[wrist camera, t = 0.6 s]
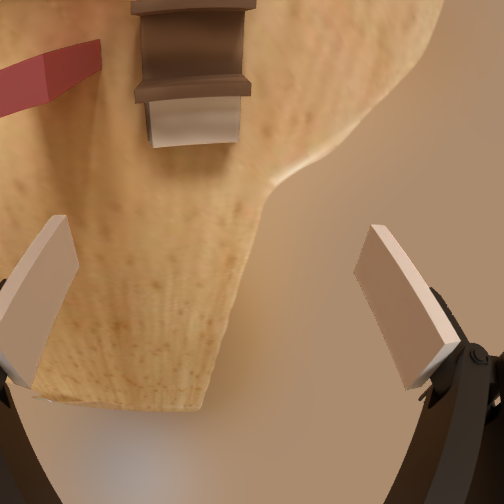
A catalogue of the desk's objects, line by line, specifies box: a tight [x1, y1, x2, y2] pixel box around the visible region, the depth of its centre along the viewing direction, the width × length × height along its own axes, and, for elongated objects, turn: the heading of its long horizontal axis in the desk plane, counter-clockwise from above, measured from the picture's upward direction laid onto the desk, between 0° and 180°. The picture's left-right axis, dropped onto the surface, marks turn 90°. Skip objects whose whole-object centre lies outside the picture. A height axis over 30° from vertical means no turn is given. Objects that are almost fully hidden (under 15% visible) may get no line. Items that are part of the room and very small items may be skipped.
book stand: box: [131, 0, 256, 148], centre depth 24 cm, size 16×10×7 cm, turn 178°
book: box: [0, 39, 101, 118], centre depth 18 cm, size 4×9×14 cm, turn 88°
